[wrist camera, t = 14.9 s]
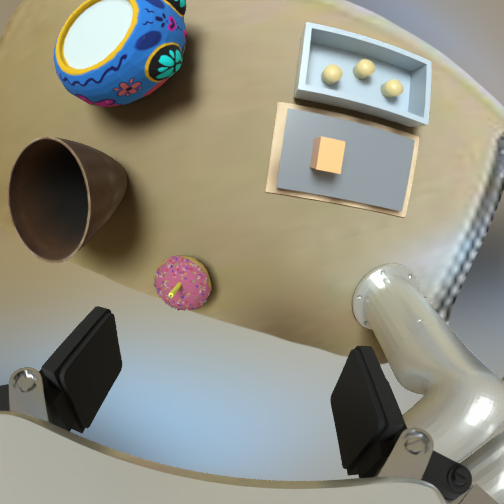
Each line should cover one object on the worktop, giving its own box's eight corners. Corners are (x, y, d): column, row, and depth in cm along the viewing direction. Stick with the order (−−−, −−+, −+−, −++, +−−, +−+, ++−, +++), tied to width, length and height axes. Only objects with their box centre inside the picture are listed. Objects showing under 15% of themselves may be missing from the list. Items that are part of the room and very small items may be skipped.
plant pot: (68, 213, 42) (6, 242, 27) (82, 130, 37) (14, 130, 22) (138, 238, 43) (84, 280, 28) (158, 146, 38) (101, 146, 23)
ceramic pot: (198, 105, 36) (161, 82, 22) (94, 120, 37) (31, 116, 23) (202, 6, 30) (175, -45, 16) (101, 28, 31) (50, 0, 17)
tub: (412, 70, 32) (431, 61, 26) (408, 127, 35) (427, 125, 29) (301, 38, 32) (306, 22, 26) (293, 97, 35) (297, 89, 29)
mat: (418, 136, 35) (419, 136, 35) (403, 216, 40) (404, 217, 39) (278, 102, 35) (278, 101, 35) (265, 191, 40) (265, 191, 39)
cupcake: (169, 239, 43) (138, 270, 32) (221, 254, 43) (206, 290, 32) (161, 286, 46) (134, 326, 35) (210, 301, 46) (194, 346, 35)
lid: (409, 140, 35) (432, 140, 29) (397, 209, 39) (417, 219, 33) (287, 110, 35) (291, 101, 29) (276, 186, 39) (277, 192, 33)
